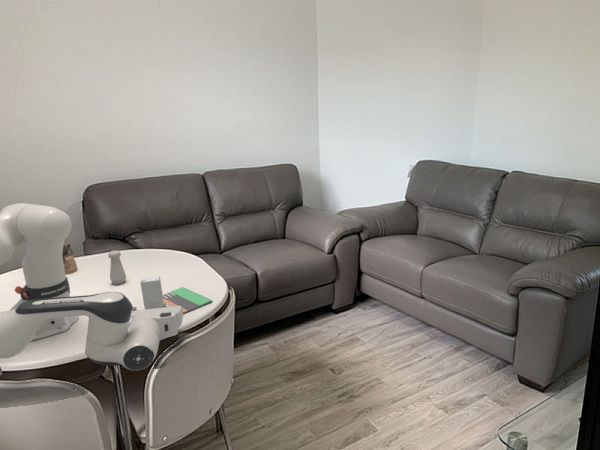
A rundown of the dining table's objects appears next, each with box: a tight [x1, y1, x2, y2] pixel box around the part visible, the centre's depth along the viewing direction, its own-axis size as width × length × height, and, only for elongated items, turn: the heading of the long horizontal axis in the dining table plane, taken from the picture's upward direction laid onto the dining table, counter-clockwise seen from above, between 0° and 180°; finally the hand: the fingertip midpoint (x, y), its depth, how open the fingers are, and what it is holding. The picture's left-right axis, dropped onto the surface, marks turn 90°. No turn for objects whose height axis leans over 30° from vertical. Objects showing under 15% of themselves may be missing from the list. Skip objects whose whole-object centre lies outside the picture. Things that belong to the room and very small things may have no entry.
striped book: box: [163, 287, 213, 315], centre depth 157 cm, size 13×18×1 cm
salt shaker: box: [108, 250, 127, 286], centre depth 173 cm, size 6×6×13 cm
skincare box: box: [140, 275, 164, 310], centre depth 148 cm, size 6×4×12 cm
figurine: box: [62, 243, 78, 276], centre depth 187 cm, size 7×7×12 cm
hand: (150, 307), depth 139 cm, fingers open, 8 cm apart
